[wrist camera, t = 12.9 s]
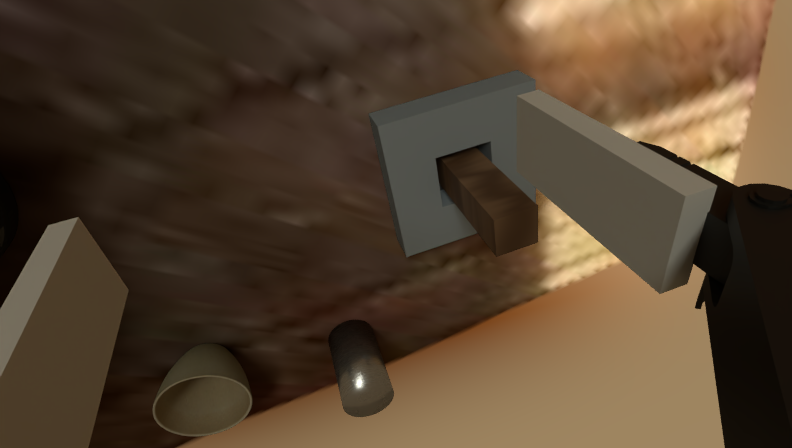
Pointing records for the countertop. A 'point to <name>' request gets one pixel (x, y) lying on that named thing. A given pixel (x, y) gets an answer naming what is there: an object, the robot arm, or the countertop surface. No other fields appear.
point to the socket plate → (445, 153)
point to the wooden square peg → (489, 200)
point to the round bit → (359, 369)
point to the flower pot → (203, 393)
